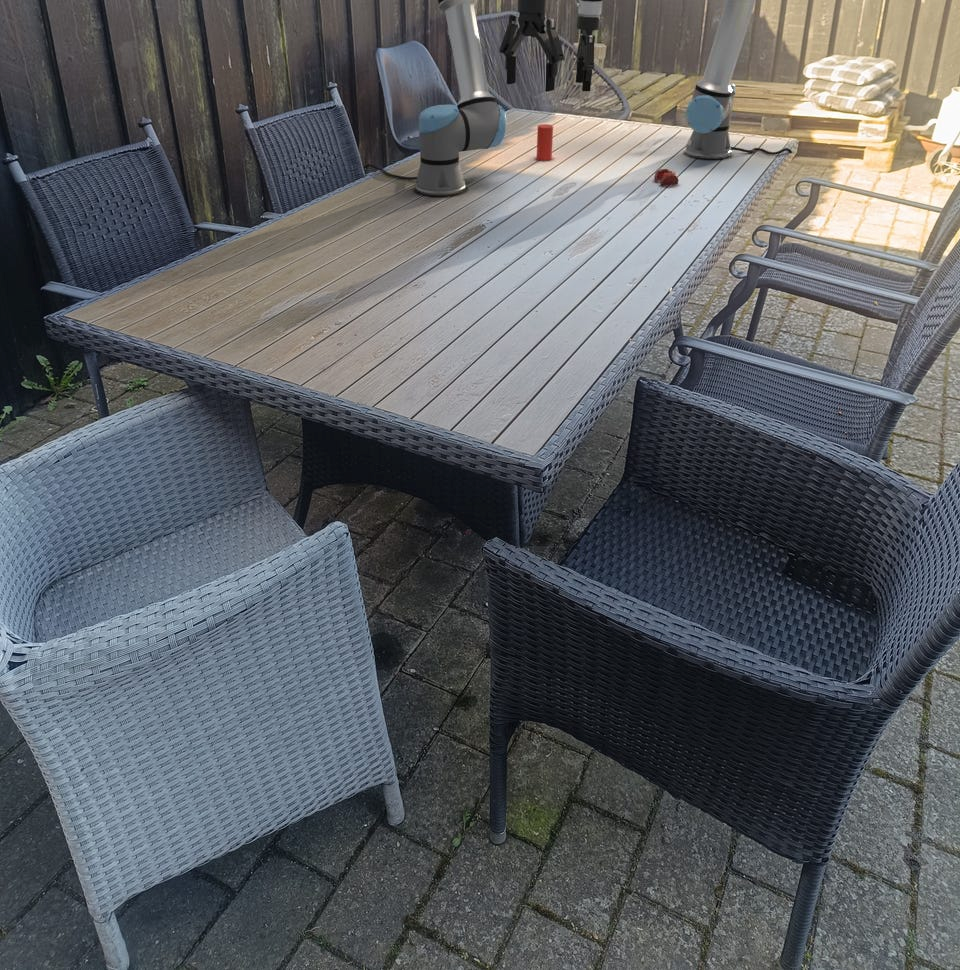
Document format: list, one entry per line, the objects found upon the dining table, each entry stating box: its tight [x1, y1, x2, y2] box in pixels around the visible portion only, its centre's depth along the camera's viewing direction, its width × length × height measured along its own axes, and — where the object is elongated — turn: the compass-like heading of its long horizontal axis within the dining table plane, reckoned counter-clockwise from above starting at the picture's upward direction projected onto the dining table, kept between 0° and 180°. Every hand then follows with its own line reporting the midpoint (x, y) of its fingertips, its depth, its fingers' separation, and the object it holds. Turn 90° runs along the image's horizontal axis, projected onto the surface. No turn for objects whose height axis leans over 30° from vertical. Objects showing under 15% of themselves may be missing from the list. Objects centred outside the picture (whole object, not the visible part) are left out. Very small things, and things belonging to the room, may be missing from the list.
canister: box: [536, 123, 554, 162], centre depth 284 cm, size 5×5×11 cm
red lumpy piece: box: [653, 168, 679, 187], centre depth 263 cm, size 6×4×8 cm
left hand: (530, 87), depth 222 cm, fingers open, 13 cm apart
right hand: (582, 86), depth 284 cm, fingers open, 13 cm apart
